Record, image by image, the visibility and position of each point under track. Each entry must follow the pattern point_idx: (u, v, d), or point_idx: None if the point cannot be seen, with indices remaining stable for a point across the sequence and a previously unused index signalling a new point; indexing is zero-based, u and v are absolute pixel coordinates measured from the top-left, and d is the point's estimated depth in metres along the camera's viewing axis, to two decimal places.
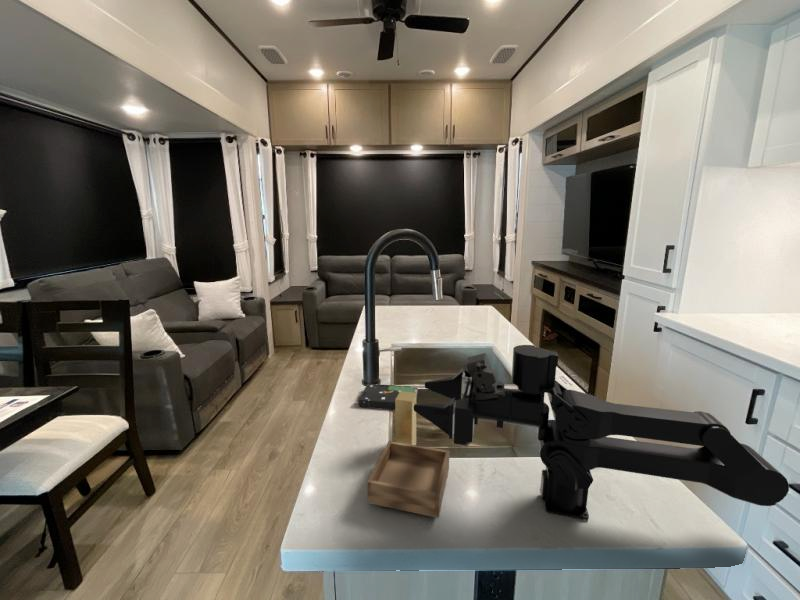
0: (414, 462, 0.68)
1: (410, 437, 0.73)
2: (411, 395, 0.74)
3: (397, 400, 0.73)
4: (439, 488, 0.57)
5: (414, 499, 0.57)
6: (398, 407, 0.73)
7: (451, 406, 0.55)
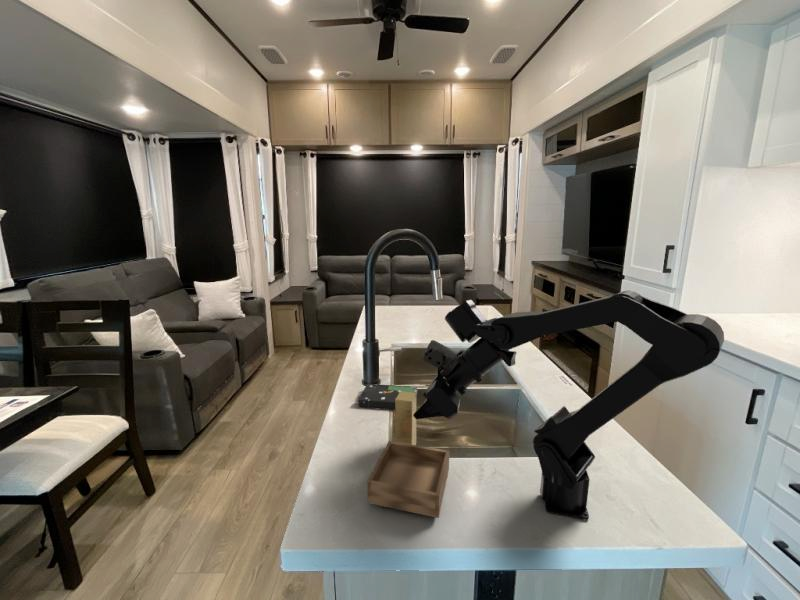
0: (414, 462, 0.68)
1: (410, 437, 0.73)
2: (411, 395, 0.74)
3: (397, 400, 0.73)
4: (439, 488, 0.57)
5: (414, 499, 0.57)
6: (398, 407, 0.73)
7: (426, 394, 0.64)
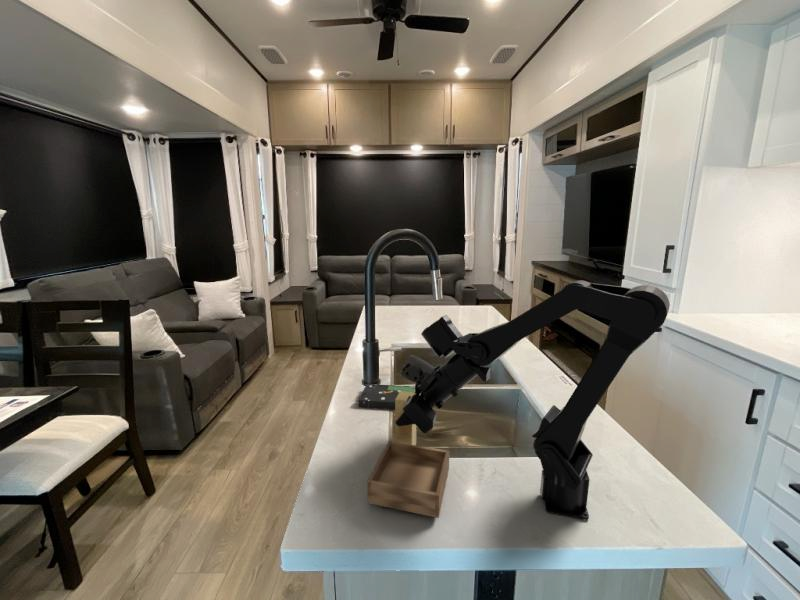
0: (414, 462, 0.68)
1: (410, 437, 0.73)
2: (411, 395, 0.74)
3: (397, 400, 0.73)
4: (439, 488, 0.57)
5: (414, 499, 0.57)
6: (398, 407, 0.73)
7: None
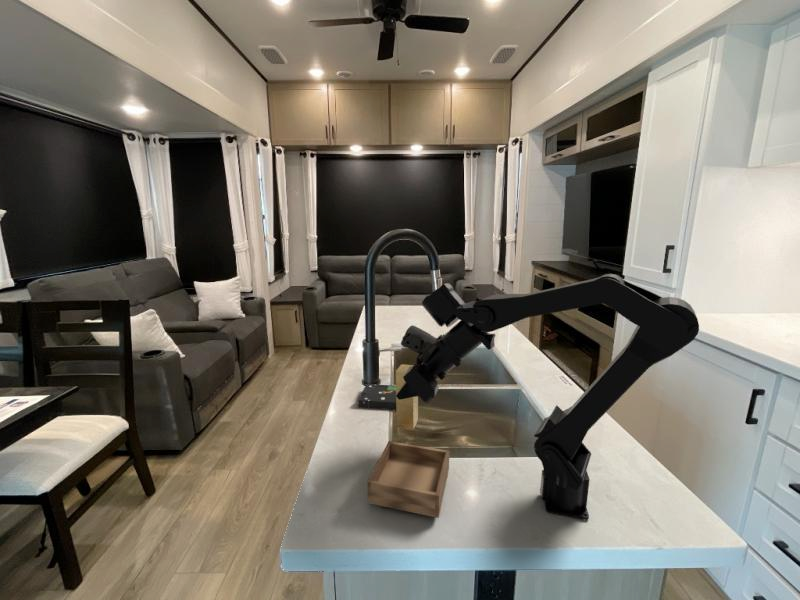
0: (414, 462, 0.68)
1: (411, 411, 0.71)
2: None
3: (398, 372, 0.70)
4: (439, 488, 0.57)
5: (414, 499, 0.57)
6: (399, 380, 0.70)
7: None
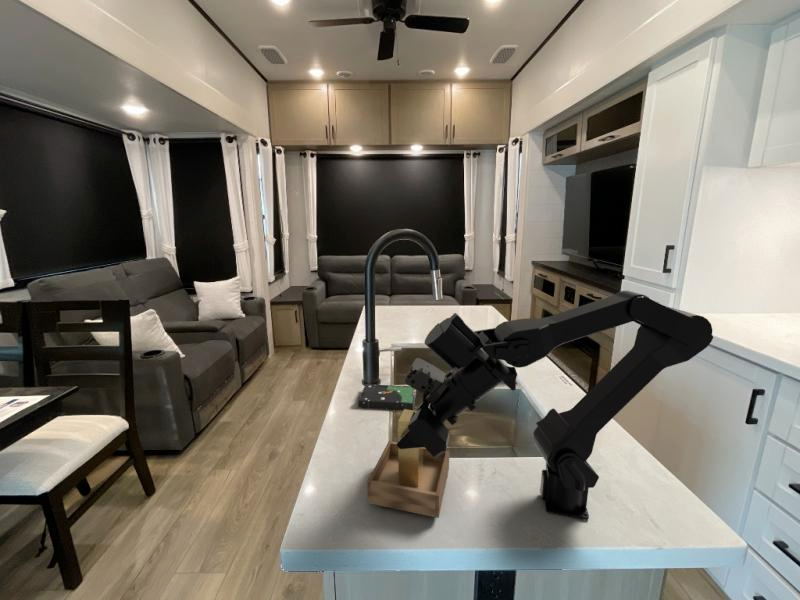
0: None
1: (416, 466, 0.61)
2: None
3: (400, 421, 0.60)
4: (439, 488, 0.57)
5: (414, 499, 0.57)
6: (402, 430, 0.60)
7: None
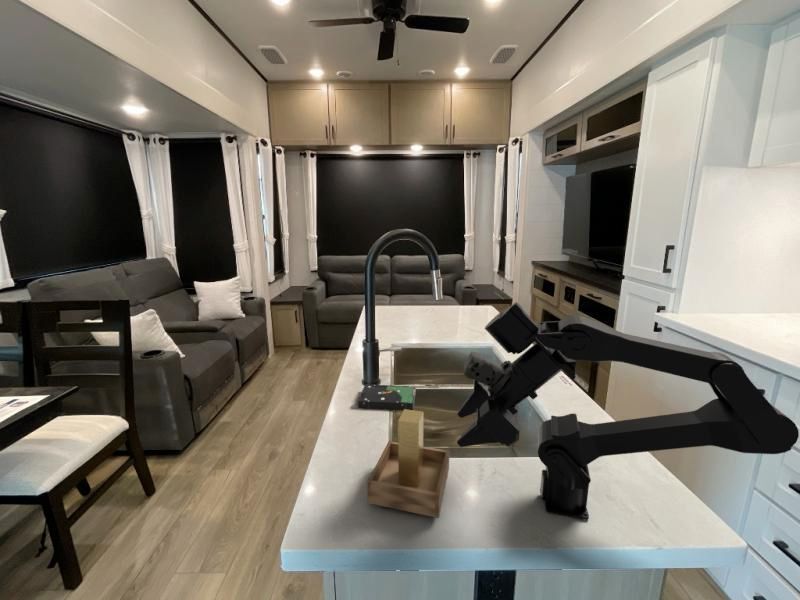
0: None
1: (416, 466, 0.61)
2: (418, 415, 0.62)
3: (400, 421, 0.60)
4: (439, 488, 0.57)
5: (414, 499, 0.57)
6: (402, 430, 0.60)
7: (478, 418, 0.54)
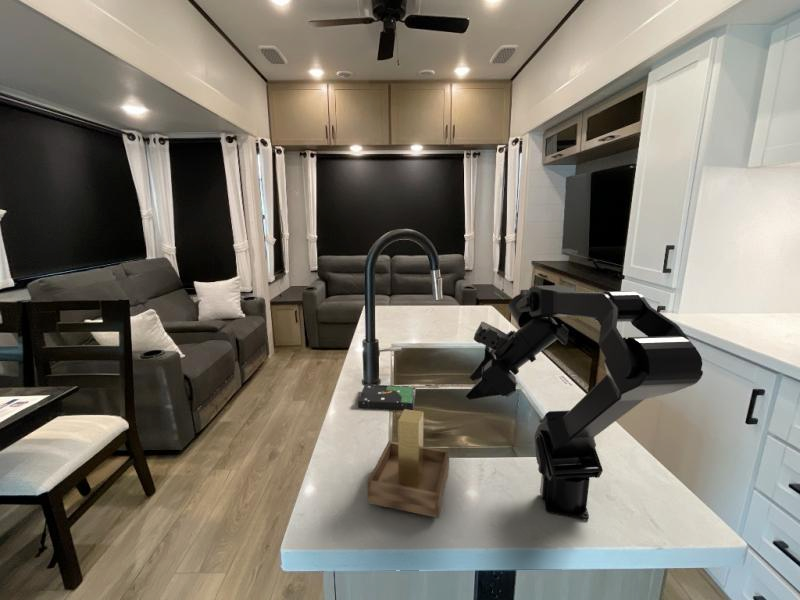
0: None
1: (416, 466, 0.61)
2: (418, 415, 0.62)
3: (400, 421, 0.60)
4: (439, 488, 0.57)
5: (414, 499, 0.57)
6: (402, 430, 0.60)
7: (482, 373, 0.65)
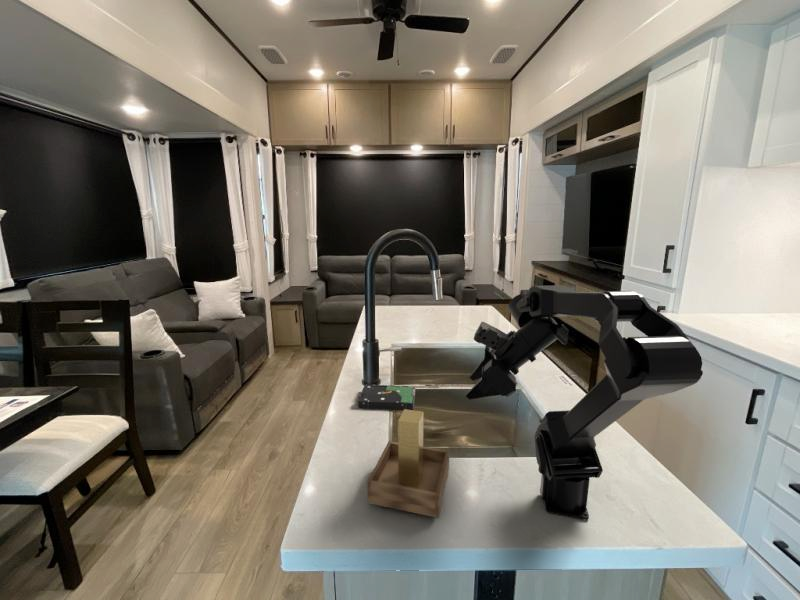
0: None
1: (416, 466, 0.61)
2: (418, 415, 0.62)
3: (400, 421, 0.60)
4: (439, 488, 0.57)
5: (414, 499, 0.57)
6: (402, 430, 0.60)
7: (482, 373, 0.65)
